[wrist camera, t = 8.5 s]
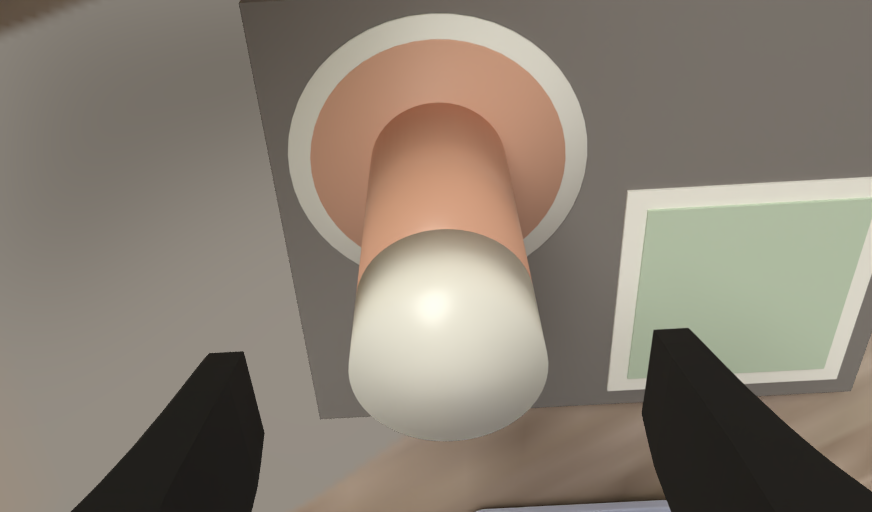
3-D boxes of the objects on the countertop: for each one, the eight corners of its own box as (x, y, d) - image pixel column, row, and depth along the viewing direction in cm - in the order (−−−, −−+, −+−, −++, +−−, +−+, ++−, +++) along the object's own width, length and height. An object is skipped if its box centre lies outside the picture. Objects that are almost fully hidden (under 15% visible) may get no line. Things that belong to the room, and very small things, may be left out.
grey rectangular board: (839, 374, 26) (853, 395, 25) (322, 402, 26) (319, 423, 26) (982, -50, 18) (1009, -40, 18) (244, -6, 19) (237, 5, 18)
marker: (509, 216, 21) (550, 432, 15) (381, 229, 21) (365, 449, 15) (501, 95, 19) (545, 283, 13) (360, 110, 19) (331, 304, 13)
